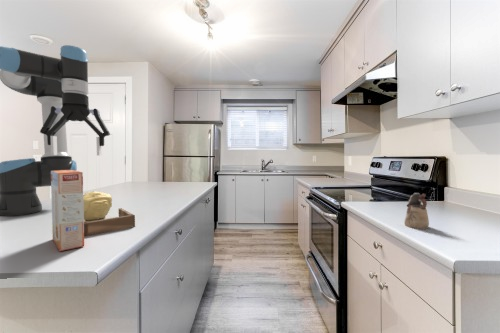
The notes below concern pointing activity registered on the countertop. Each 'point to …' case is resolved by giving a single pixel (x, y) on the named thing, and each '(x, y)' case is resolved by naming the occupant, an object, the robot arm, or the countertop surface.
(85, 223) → the frame
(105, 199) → the sculpture
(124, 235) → the countertop surface
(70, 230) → the cracker box
